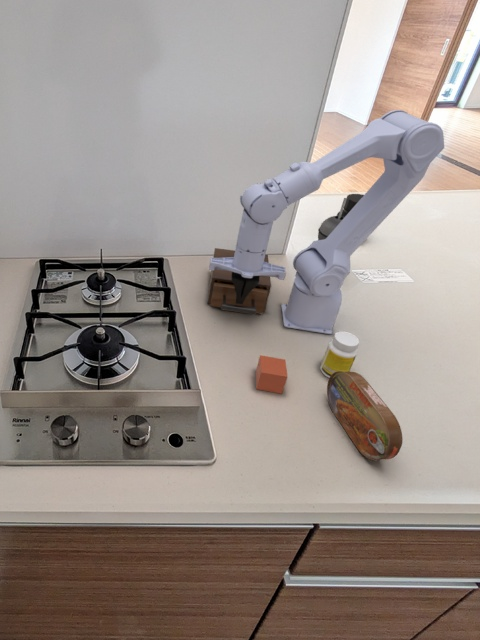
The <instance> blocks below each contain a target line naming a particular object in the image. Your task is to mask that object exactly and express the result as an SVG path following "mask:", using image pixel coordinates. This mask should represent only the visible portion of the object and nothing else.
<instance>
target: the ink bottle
mask: <svg viewBox="0 0 480 640" xmlns="http://www.w3.org/2000/svg"><path fill="white" fill-rule="evenodd" d="M364 195H365V194H362V193H361V194H360V193H350V194H348V195H346V197H345V198H346V202H345V205H344V208H343V211H342V215H341V216H342V217H344V218H345V216H346V215H347V214H348V213H349V212H350V211H351V210H352V208H353V207H354V206H355V205H356V204H357V203H358V202H359V200H360V199H361V198H362V197H363V196H364ZM339 213H340V210H339V211H338V212H337V214H336V216H339Z"/></svg>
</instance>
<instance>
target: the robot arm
mask: <svg viewBox="0 0 480 640" xmlns="http://www.w3.org/2000/svg"><path fill="white" fill-rule="evenodd" d="M444 149H445V135H444V130H443V128H442V127H441V126H440V125H438V124H437V123H434V122H430V121H427V120H425V119H422V118H419V117H417V116H414V115H412V114H410V113H408V112H407V111H405V110H402V109H394V110H391V111H387V112H386V113H385V114H383V115H382V116H381V117H378V118H376V119H372V120H371V121H370V122H369V123H368V125H367V126H366V127H365V128H364V130H363V131H361V132H360V133H358V134H356V135H355V136H352V137H351V138H350V139H349V140H347V141H345V142H343V143H342V144H340V145H339V146H338V147H336V148H334V149H333V150H331V151H329V152H327V154H325V155H322V156H321V157H320V158H318V159H317V160H315V161H314V162H309V161H300V162H299V163H297V162H294V163H292V164H290V165H289V169H287V170H285V171H283V172H282V173H279V174H277V175H276V176H274V177H272V178H268V179H266V180H264V183H261V182H260V183H254V184H252V185H250V186H248V187H247V188H246V189H245V191H244V192H243V194H241V195H240V196H239V202H240V205H241V206H242V208H243V210H242V214H241V219H240V223H239V228H238V234H237V239H236V244H235V249H234V251H235V254H234V257H228V258H213V257H210V259H209V266H208V270H209V271H211V270H215V269H218V270H226V271H232V282H233V284H234V287H235V291H236V303H238V304H243V302H244V300H245V298H246V297H247V295H248V294H249V293H250V291H251V290H252V289H253V288H255V287H256V286H257V285H258V283H259V277H260V276H270V278H277V279H278V280H279V281H284V280H285V279H286V278H285V277H286V274H287V270H286V266H282V265H276V264H273V263H270V262H269V263H267V262H264V258H265V254H267V250H268V244H269V241H270V238H271V233H272V229H273V226H274V225H273V224H274V222H275V221H276V220H278V219H279V218H280V217H281V215H282V214H283V213H284V211H285V210H286V209H287V208H288V207H290V205H292V204H294V203H296V202H297V201H299V200H302V199H303V198H305V197H307V196H309V195H311V194H313V193H315V192H316V191H318V190H319V189H320V188H321V185H322V183H323V180H324V179H327V178H329V177H332V176H333V175H336V174H337V173H340V172H342V171H344V170H347V169H349V168H350V167H352V166H354V165H357V164H359V163H361V162H363V161H365V160H367V159H370V158H374V159H381V160H383V168H384V172H383V173H382V174H381V175H380V176H379V178H378V179H376V180H375V182H374V183H373V184H372V185H371V187H370V188H369V189H368V190H367V191H366V192H365V194H363V195H364V196H363V197H362V198H361V199H360V200H359V202H358V203H357V204H356V205H355V206H354V207H353V208H352V210H351V211H350V212H349V213H348V214H347V215H346V216H345V218H344V219H343V220H342V221H341V222H340V223H339V224H338V226H337V227H336V228H335V229H334V230H333V231H332V232H331V233H330V235H329V236H328V237H327V238H326V239H324V240H318V239H317V240H313V241H312V243H310V245H309V246H307V247H306V248H304V249H302V250H301V251H299V252H298V253H297V254H296V255H295V256H294V258H293V261H292V267H293V269H294V270H295V271H296V272H295V275H294V276H295V278H294V280H293V283H292V286H291V291H290V294H289V296H288V299H287V303H281V307H280V308H281V314H282V320H283V321H282V322H283V323H282V324H283V327H285V328H288V329H295V330H300V331H307V332H313V333H319V334H326V335H333V328H334V325H335V323H336V320H337V319H338V315H339V312H340V309H341V306H342V299H343V295H342V290H341V288H342V286H343V284H344V281H345V279H346V278H347V276H348V275H349V274H350V273H351V256H352V255H353V254H354V253H355V252H356V250H357V249H359V248H360V246H361V245H363V243H364V242H365V241H366V240H367V239H368V238H369V236H371V235H372V234H373V233H374V231H376V230H377V228H378V227H379V226H380V225H381V224H382V223H383V222H384V221H385V220H386V219H387V217H388V216H389V215H390V214H391V213H392V212H393V211H394V210H395V209H396V208H397V207H398V206H399V205H400V204H401V202H402V201H403V200H405V198H406V197H408V195H409V194H410V193H411V192H412V191H413V190H414V188H416V187H417V185H418V184H419V183H420V182H421V181H422V180H423V179H424V177H425V175H426V173H427V171H428V169H429V167H430V165H431V163H433V161H434V160H435V159H436V158H437V157H438V156H439V154H440V153H441V152H442V151H443V150H444Z"/></svg>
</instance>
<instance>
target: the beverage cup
mask: <svg viewBox="0 0 480 640" xmlns="http://www.w3.org/2000/svg"><path fill="white" fill-rule="evenodd" d="M346 198H347V197H343V200H342V202H341V203H342V204H341V207H340V209H339V211H340V213H339V216H337V215H332V216H329V217H328V218H326V219H325V220H323V221H322V222H321V224H320V226H319V227H318V233H317V240H324V239H326V238H327V237H328V236H329V235H330V233H331V232H332V231H333V230H334V229H335V228H336V227H337V226H338V224H339V223H340V222H341V221H342V220H343V219H344V217H342V216H341V215H342V211H343V209H344V205H345V202H346Z"/></svg>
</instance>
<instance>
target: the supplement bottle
mask: <svg viewBox="0 0 480 640" xmlns="http://www.w3.org/2000/svg"><path fill="white" fill-rule="evenodd" d="M359 345H360V339H359V338H358V336H356V335H354V334H353V333H351V332H348V331H344V330H343V331H341V330H340V331H336V333H334V335H333V338H332V340H330V341H329V343H327V347H326V350H325V352H324V354H323V358H322V359H321V362H320V367H319V369H320V371H321V373H322V374H323V376H325V377H326V378H327V379H329V378H330V376H331V375H332V374H333V373H334V372H337V371H343V372H351V369H352V367H353V365H354V362H355V360H356V357H357V355H358V348H359Z"/></svg>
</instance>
